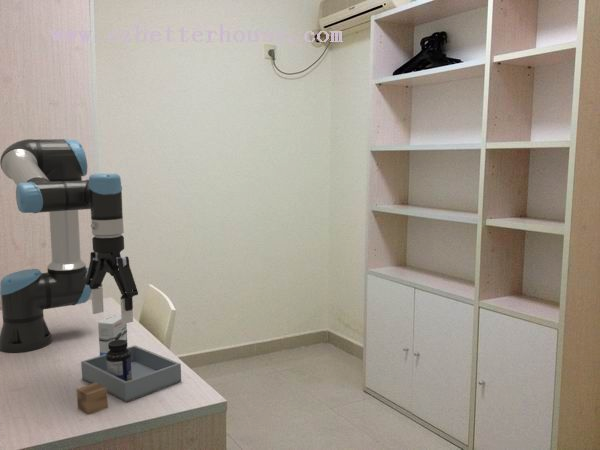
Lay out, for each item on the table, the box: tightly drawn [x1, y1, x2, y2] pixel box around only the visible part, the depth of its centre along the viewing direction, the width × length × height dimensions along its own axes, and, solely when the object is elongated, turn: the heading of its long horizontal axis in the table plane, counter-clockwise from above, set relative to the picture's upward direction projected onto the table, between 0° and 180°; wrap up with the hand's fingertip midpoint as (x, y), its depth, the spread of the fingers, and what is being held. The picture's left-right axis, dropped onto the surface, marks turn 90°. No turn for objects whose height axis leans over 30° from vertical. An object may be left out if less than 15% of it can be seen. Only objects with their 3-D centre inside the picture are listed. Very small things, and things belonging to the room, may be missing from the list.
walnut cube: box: [76, 383, 109, 415], centre depth 136 cm, size 5×5×5 cm
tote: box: [81, 344, 182, 404], centre depth 151 cm, size 22×17×5 cm
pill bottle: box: [106, 340, 132, 381], centre depth 148 cm, size 6×6×11 cm
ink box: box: [97, 314, 129, 356], centre depth 168 cm, size 8×5×12 cm, turn 168°
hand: (112, 317), depth 144 cm, fingers open, 13 cm apart
